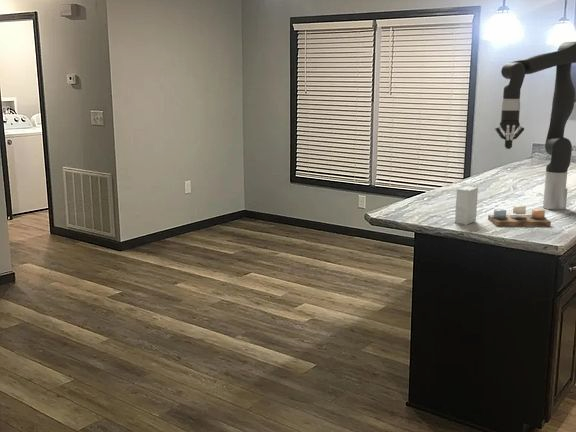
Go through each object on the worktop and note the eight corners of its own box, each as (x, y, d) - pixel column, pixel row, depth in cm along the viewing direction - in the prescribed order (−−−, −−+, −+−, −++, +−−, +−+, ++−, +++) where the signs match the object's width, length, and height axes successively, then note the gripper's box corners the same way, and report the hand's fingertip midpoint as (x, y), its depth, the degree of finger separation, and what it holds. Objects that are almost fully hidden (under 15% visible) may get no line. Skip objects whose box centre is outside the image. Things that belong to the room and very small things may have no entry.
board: (539, 219, 283) (540, 214, 282) (550, 226, 270) (551, 220, 270) (487, 219, 283) (487, 214, 283) (496, 226, 271) (496, 220, 270)
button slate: (504, 215, 279) (504, 209, 278) (507, 218, 274) (508, 211, 273) (492, 215, 279) (492, 209, 278) (495, 218, 274) (495, 211, 274)
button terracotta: (541, 216, 278) (542, 209, 278) (546, 218, 274) (546, 211, 273) (530, 216, 279) (530, 209, 278) (534, 218, 274) (534, 211, 273)
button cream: (523, 211, 278) (523, 204, 278) (527, 214, 273) (527, 207, 273) (511, 211, 278) (511, 204, 278) (515, 214, 274) (515, 207, 273)
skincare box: (463, 219, 283) (465, 185, 280) (476, 221, 279) (478, 187, 276) (454, 222, 277) (455, 188, 274) (467, 225, 273) (469, 189, 270)
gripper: (523, 108, 291) (520, 147, 295) (493, 108, 291) (490, 147, 295) (528, 109, 284) (525, 149, 287) (498, 109, 284) (495, 149, 288)
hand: (508, 148), depth 291 cm, fingers closed
